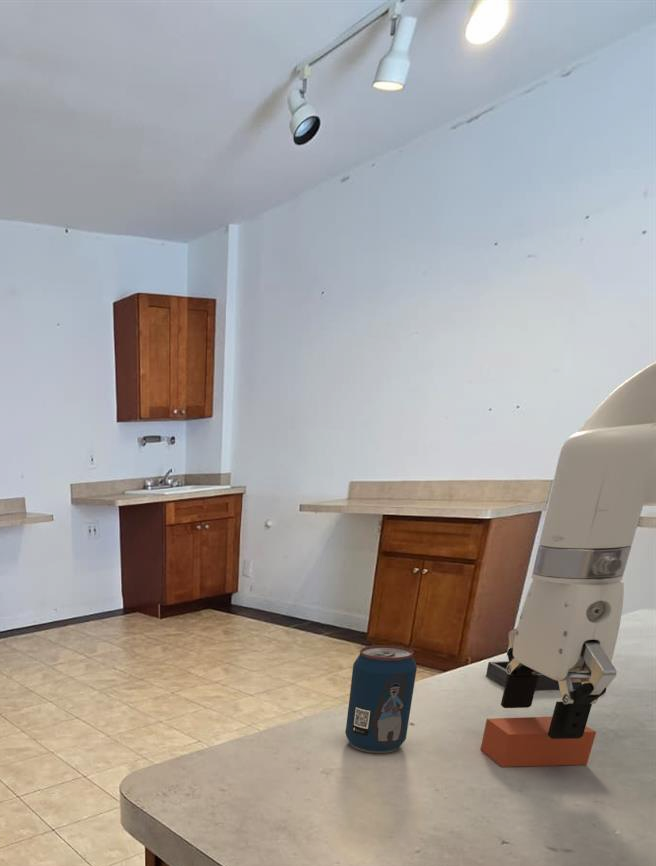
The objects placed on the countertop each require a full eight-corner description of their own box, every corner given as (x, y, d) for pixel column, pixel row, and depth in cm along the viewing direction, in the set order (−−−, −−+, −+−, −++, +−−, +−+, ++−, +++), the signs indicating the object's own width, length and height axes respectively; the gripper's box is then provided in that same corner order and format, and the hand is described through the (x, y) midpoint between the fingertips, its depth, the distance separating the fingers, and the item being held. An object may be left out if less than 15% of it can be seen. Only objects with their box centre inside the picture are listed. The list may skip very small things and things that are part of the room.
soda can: (366, 729, 84) (377, 640, 79) (416, 745, 79) (431, 650, 74) (332, 743, 81) (342, 651, 76) (382, 760, 76) (396, 662, 71)
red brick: (560, 747, 76) (568, 715, 74) (586, 764, 71) (596, 731, 69) (480, 749, 77) (486, 718, 75) (501, 767, 72) (508, 734, 70)
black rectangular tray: (565, 672, 99) (568, 658, 98) (596, 688, 92) (601, 672, 92) (485, 676, 101) (488, 661, 100) (511, 691, 94) (514, 676, 93)
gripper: (684, 574, 57) (627, 750, 64) (566, 552, 72) (531, 696, 79) (593, 578, 57) (547, 752, 64) (496, 556, 73) (467, 698, 80)
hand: (538, 721), depth 72 cm, fingers open, 9 cm apart
